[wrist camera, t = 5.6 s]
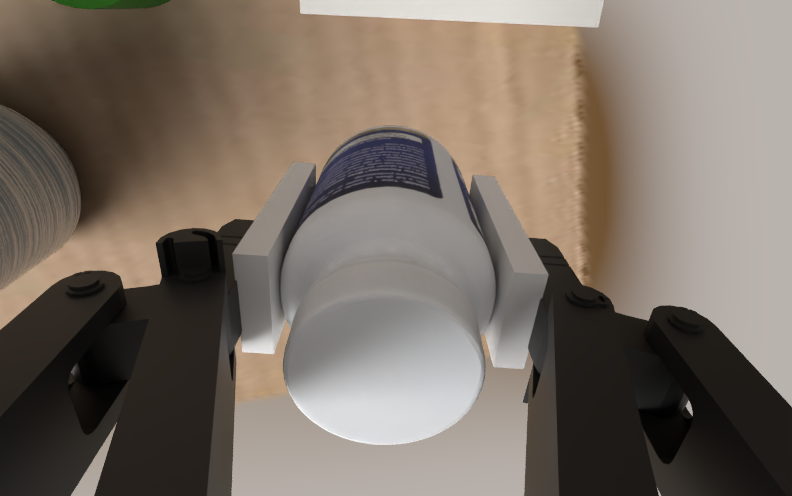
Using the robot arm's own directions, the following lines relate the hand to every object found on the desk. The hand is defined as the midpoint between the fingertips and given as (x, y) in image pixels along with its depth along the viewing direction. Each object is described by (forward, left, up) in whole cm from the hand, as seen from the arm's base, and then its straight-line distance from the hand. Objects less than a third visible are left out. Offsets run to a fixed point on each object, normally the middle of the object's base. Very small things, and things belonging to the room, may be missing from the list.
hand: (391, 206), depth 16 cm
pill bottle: (0, 0, -2) cm, 2 cm away
